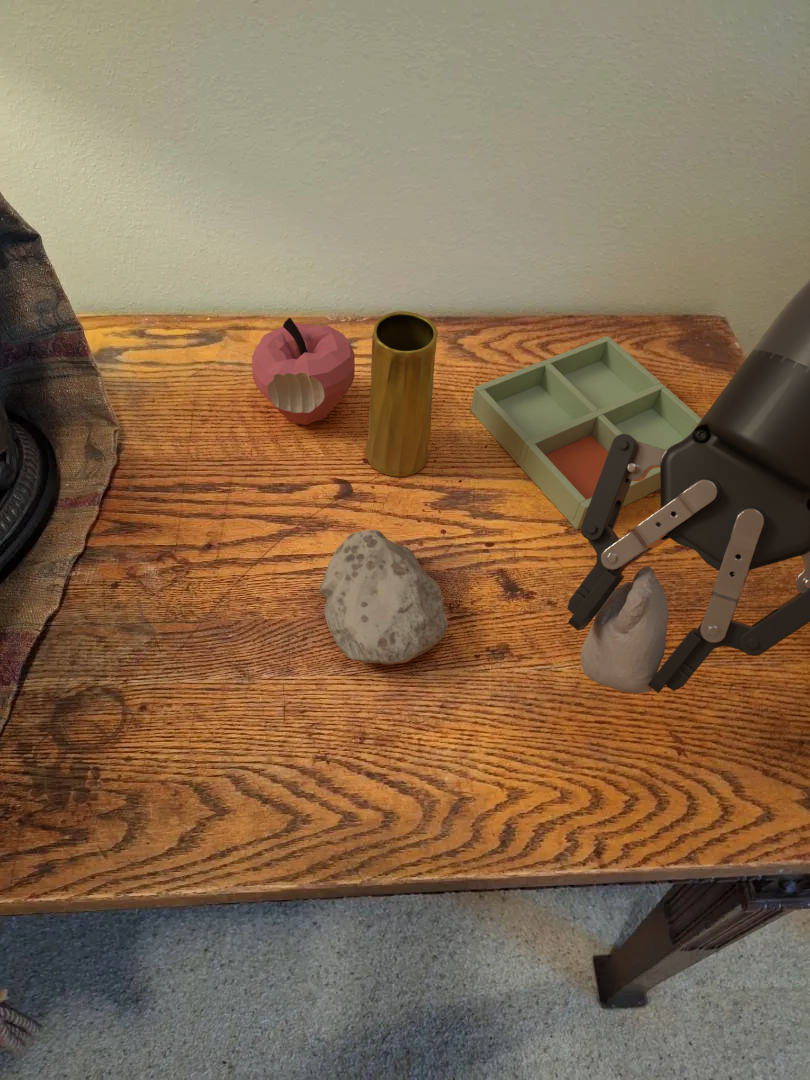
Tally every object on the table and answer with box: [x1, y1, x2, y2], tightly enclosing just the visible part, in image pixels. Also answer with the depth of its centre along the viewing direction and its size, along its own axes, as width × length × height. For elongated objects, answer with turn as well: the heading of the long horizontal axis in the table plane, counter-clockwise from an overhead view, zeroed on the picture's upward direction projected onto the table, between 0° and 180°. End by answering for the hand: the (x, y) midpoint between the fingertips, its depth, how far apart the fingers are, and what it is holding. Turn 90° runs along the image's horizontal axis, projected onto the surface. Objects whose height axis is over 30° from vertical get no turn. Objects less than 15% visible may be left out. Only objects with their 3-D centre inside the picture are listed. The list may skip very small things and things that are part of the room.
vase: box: [364, 310, 438, 478], centre depth 63 cm, size 6×6×14 cm
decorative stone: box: [319, 529, 449, 665], centre depth 57 cm, size 12×11×5 cm
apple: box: [251, 317, 356, 426], centre depth 68 cm, size 10×9×10 cm
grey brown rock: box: [579, 566, 669, 695], centre depth 42 cm, size 6×4×10 cm, turn 0°
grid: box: [470, 335, 702, 531], centre depth 71 cm, size 17×17×3 cm
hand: (615, 654), depth 40 cm, fingers closed on grey brown rock, 4 cm apart
